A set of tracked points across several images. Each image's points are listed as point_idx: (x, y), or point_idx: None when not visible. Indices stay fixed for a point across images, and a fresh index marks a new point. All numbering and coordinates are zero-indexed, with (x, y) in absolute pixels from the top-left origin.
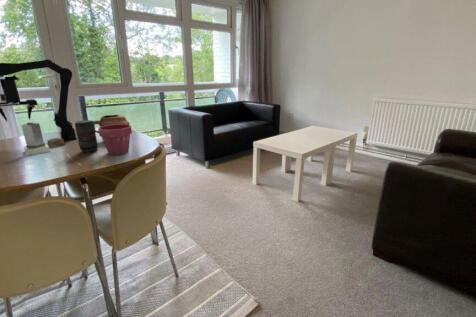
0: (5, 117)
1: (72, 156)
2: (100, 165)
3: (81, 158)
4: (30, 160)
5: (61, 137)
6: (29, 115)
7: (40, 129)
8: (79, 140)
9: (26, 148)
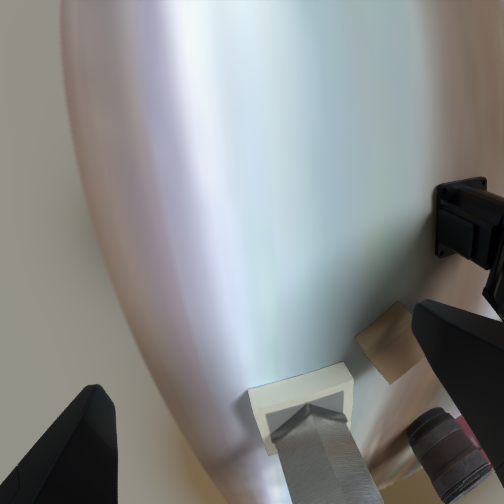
0: (110, 483)
1: (376, 451)
2: (388, 482)
3: (384, 460)
4: (276, 468)
5: (445, 239)
6: (457, 386)
7: (371, 480)
8: (422, 465)
9: (268, 437)
